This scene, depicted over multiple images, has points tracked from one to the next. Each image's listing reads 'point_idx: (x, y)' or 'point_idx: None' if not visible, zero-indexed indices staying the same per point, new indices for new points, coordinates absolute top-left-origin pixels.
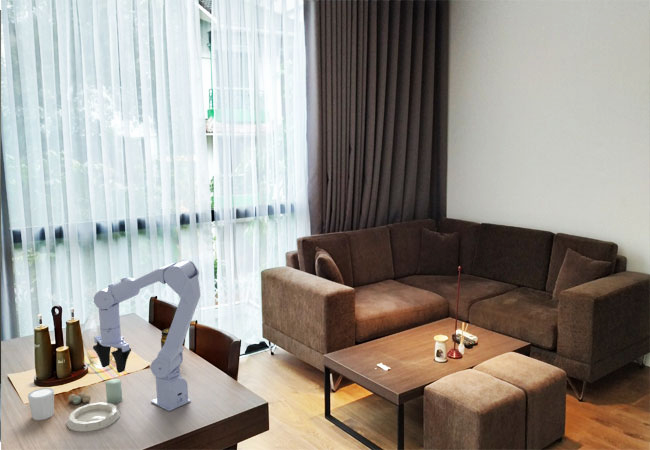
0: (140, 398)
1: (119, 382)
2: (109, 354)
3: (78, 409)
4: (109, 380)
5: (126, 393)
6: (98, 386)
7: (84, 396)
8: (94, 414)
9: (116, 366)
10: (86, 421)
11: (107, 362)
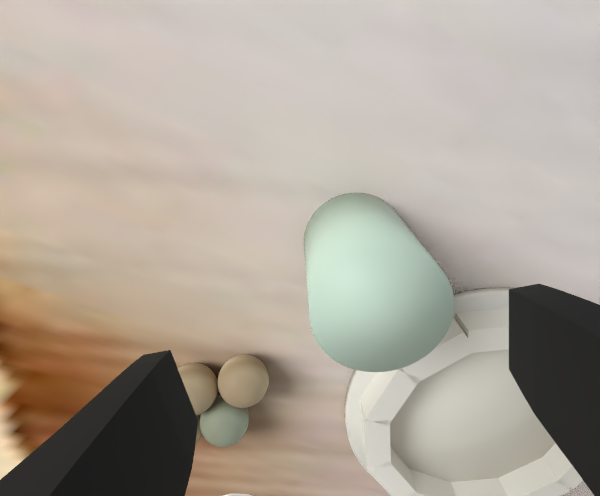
0: (478, 91)
1: (441, 278)
2: (72, 483)
3: (385, 468)
4: (317, 324)
5: (310, 130)
6: (41, 228)
7: (248, 405)
8: (454, 400)
9: (584, 468)
10: (490, 447)
11: (163, 410)
